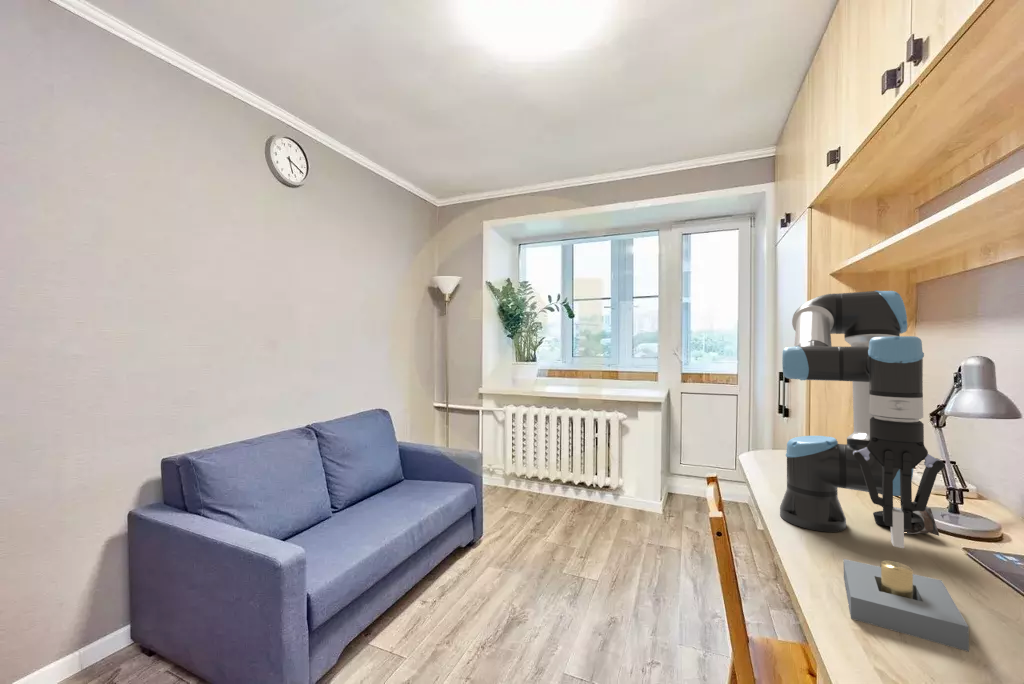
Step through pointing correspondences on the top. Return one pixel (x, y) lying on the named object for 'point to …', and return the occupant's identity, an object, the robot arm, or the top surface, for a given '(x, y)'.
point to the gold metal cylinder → (896, 579)
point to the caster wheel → (915, 522)
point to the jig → (905, 606)
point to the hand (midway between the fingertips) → (897, 544)
